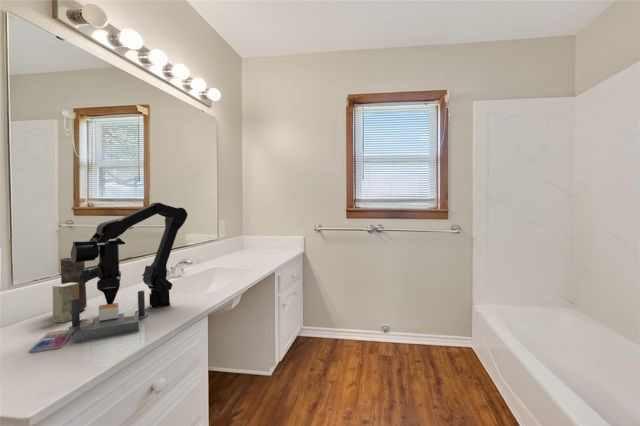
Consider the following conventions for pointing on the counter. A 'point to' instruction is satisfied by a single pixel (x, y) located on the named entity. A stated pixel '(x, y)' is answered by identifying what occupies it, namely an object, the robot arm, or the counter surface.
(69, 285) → the skincare box
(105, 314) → the slider
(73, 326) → the post
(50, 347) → the smartphone
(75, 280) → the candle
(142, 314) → the post
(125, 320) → the panel
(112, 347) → the counter surface
